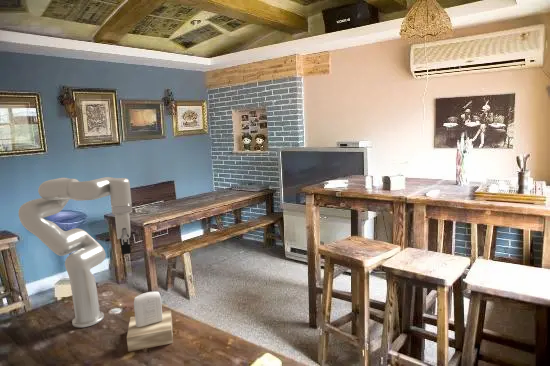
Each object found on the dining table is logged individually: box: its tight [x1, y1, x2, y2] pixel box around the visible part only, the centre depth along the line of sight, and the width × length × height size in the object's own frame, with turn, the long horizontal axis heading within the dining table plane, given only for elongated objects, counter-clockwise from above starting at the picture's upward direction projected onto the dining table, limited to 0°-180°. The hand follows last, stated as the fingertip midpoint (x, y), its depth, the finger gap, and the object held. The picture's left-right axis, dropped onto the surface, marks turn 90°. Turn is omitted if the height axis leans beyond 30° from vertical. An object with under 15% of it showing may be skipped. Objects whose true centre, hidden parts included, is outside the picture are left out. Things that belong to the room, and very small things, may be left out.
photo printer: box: [133, 291, 163, 327], centre depth 150 cm, size 10×4×12 cm, turn 120°
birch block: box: [126, 310, 174, 352], centre depth 151 cm, size 16×16×6 cm
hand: (126, 250), depth 156 cm, fingers open, 9 cm apart
